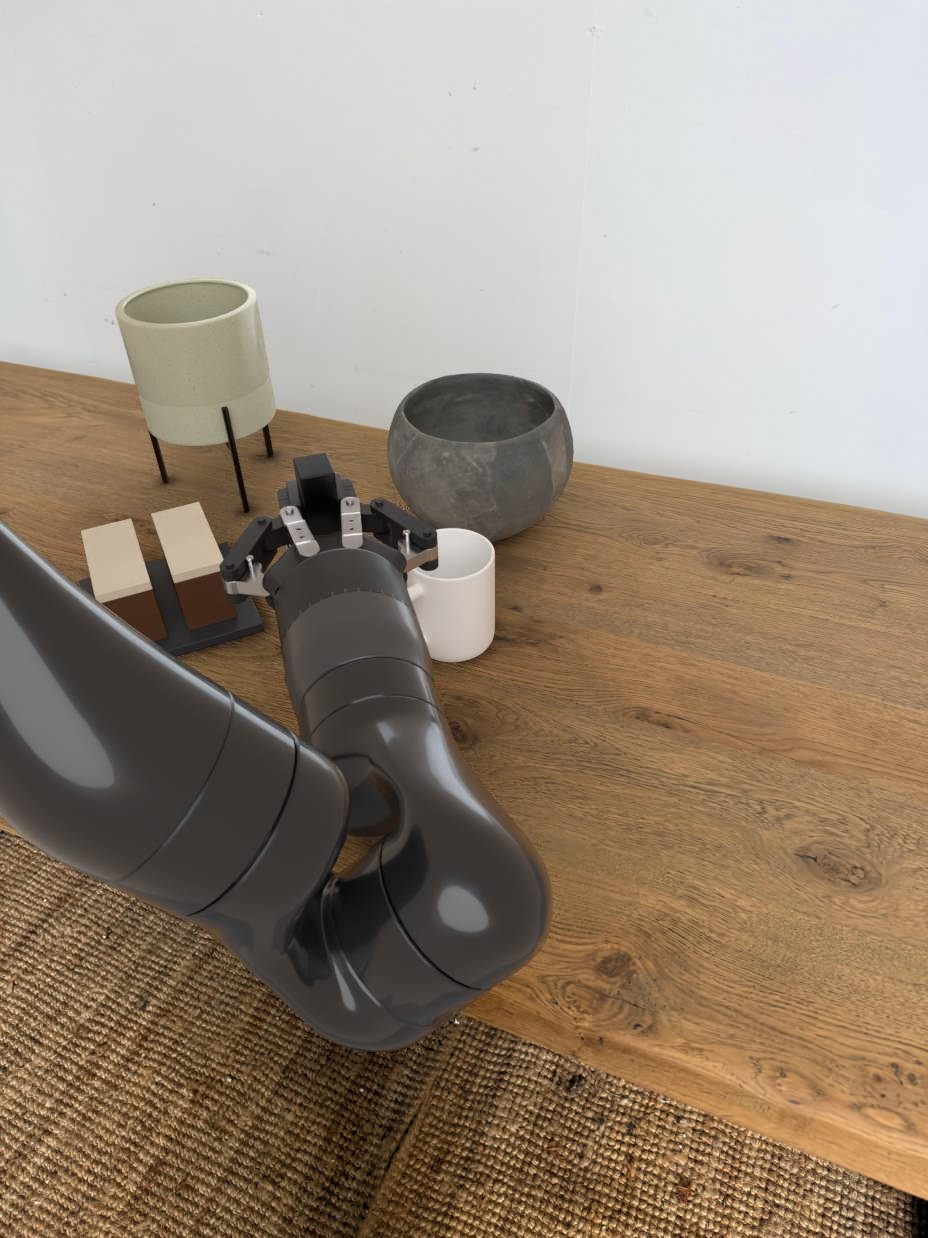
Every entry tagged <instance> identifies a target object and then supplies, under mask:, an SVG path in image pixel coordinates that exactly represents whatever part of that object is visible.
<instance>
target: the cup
mask: <svg viewBox="0 0 928 1238" xmlns="http://www.w3.org/2000/svg"><path fill="white" fill-rule="evenodd" d="M436 531H437V540H438V561H439V566H438V568H437V569H435V570H433V571H424V570H422V569H420V568H419V567H417V568H415V569H413V570H411V571H409V572H407V574H408V579H407V582H406V587H407V590H408V593H409V596H410V598H411V601H412V604H413V607H414V610H415V613H416V615H417V618H418V621H419V624H420V627H421V630H422V633H423V635H424V638H425V641H426V644H427V647H428V650H429V653H430V657H431V660H434V661H438V662H443V663H460V662H465V661H470V660H472V659H475V658H476V657H479V656H480V655H481V654H483V653H484V652H485V651H487V650H488V648H489V647H490V645H491V644H492V642H493V639H494V637H495V632H496V631H495V630H496V558H495V557H496V551H495V548H494V545H493V544H492V542H490V541H489V540H488V539H487V538H485V537H484V536H482V535H481V534H478V533H476V532H473V531H470V530H466V529H459V528H445V529H438V530H436Z"/></svg>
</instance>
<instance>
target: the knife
mask: <svg viewBox="0 0 928 1238" xmlns="http://www.w3.org/2000/svg"><path fill="white" fill-rule="evenodd" d="M292 462H293V470H294V474H295V479H296V483H297V488H298V492H299V496H300V500H301V505H302V511H303V517H304V519H305V520H306V522H307V524H308V526H309V529H310V531H311V533H312V535H328V534H331V533H335V532H338V531H342V527H341V516H340V509H339V501H338V493H337V486H336V478H335V473H336V472H335V470H334V467H333V465H332V462H331V461H330V458H329V456H328V453H327V452H321V453H320V452H319V453H314V454H308V455H302V456H297V457H293V458H292Z"/></svg>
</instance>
